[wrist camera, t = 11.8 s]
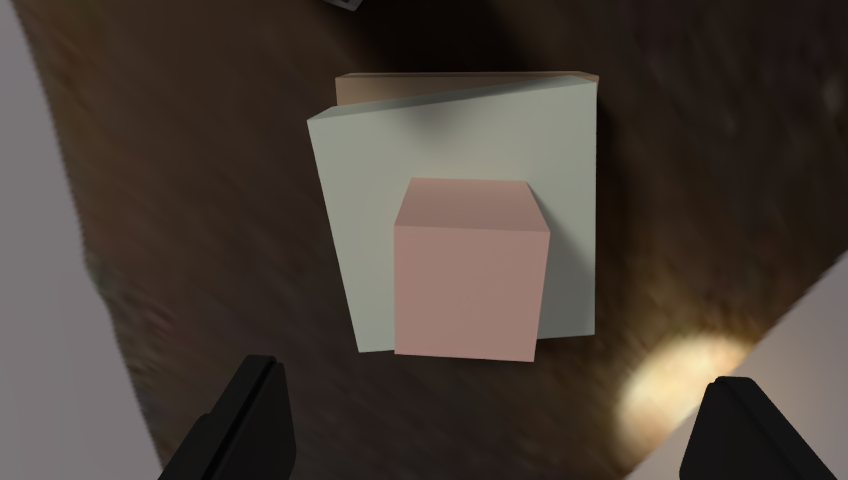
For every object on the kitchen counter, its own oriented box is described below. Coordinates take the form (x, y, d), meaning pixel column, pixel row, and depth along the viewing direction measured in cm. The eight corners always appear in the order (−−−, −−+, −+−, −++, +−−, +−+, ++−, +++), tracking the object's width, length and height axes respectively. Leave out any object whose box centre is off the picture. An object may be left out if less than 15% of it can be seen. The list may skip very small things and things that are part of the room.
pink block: (411, 177, 21) (393, 225, 15) (526, 181, 20) (550, 232, 15) (410, 278, 23) (394, 353, 17) (515, 283, 22) (533, 361, 17)
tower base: (353, 72, 28) (335, 77, 23) (576, 70, 27) (599, 76, 23) (366, 269, 33) (353, 302, 29) (554, 272, 32) (569, 307, 28)
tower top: (332, 106, 24) (306, 120, 20) (570, 75, 23) (596, 82, 19) (372, 307, 29) (358, 352, 24) (573, 290, 27) (594, 334, 23)
